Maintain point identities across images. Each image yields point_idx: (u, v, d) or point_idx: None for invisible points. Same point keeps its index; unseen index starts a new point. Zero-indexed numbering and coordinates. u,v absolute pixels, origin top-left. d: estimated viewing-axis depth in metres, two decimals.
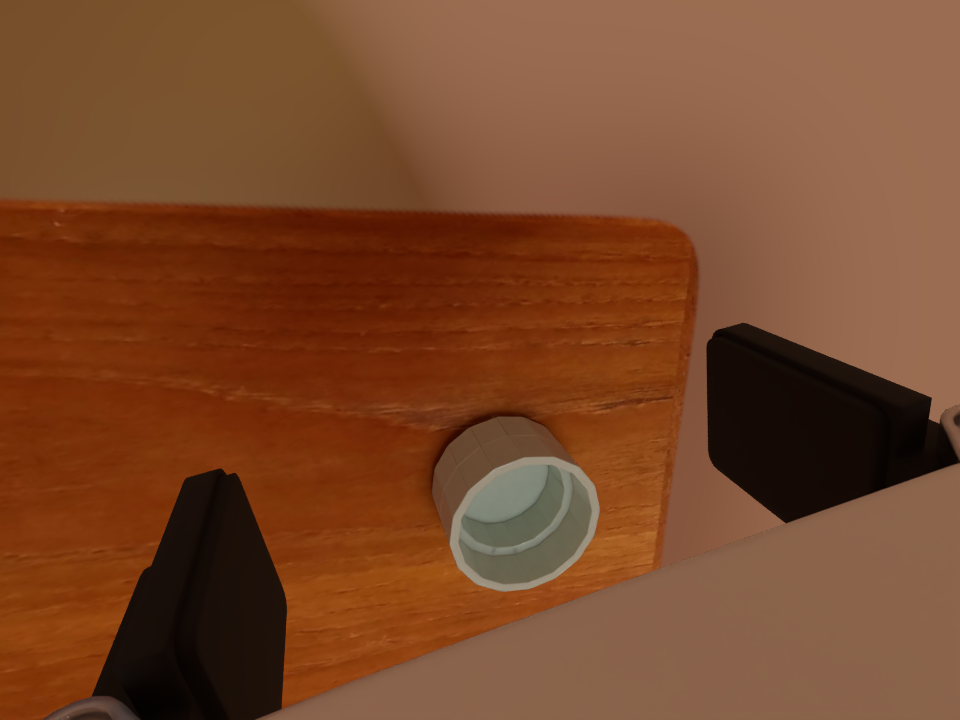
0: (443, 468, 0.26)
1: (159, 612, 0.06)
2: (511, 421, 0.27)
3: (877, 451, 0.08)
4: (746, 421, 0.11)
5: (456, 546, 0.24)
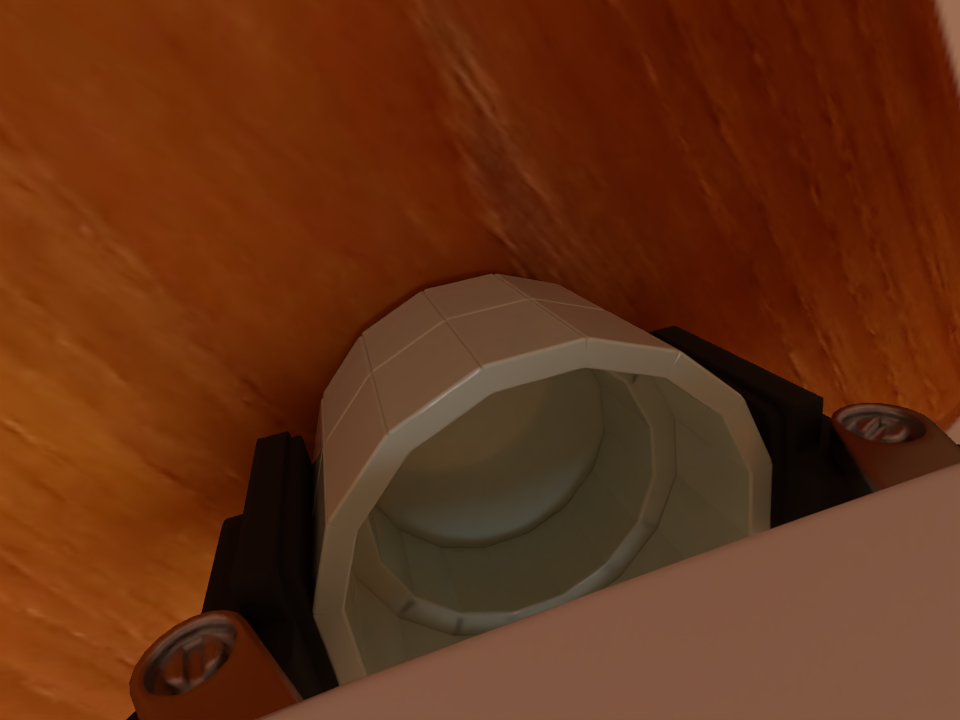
0: (462, 293, 0.10)
1: (261, 543, 0.07)
2: None
3: (775, 448, 0.08)
4: None
5: (395, 457, 0.07)
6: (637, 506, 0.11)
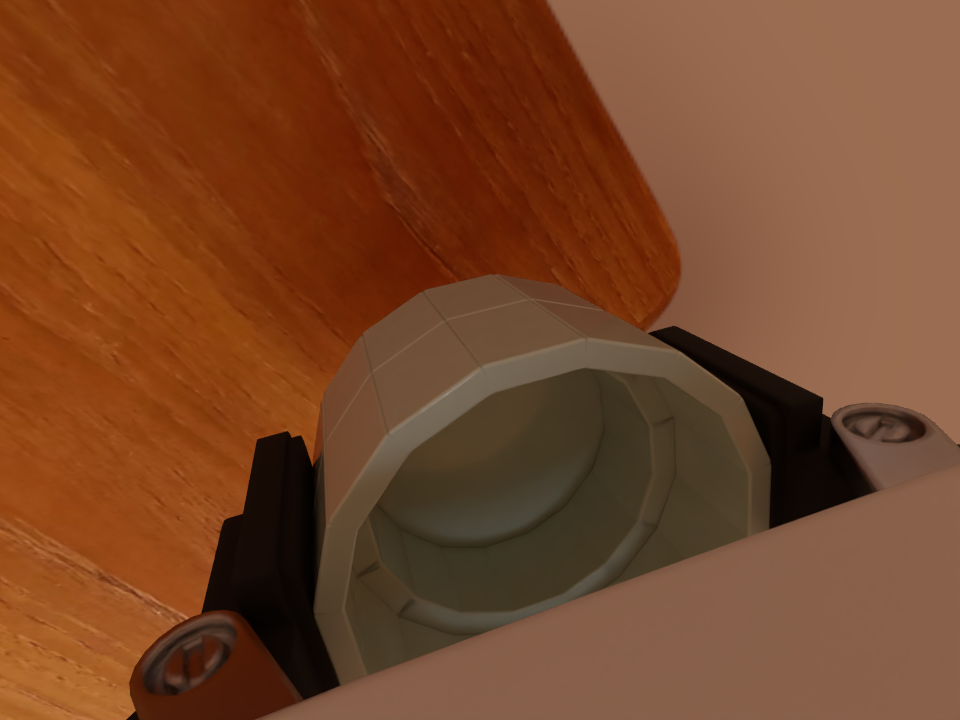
0: (462, 294, 0.10)
1: (261, 543, 0.07)
2: None
3: (775, 448, 0.08)
4: None
5: (395, 458, 0.07)
6: (637, 506, 0.11)
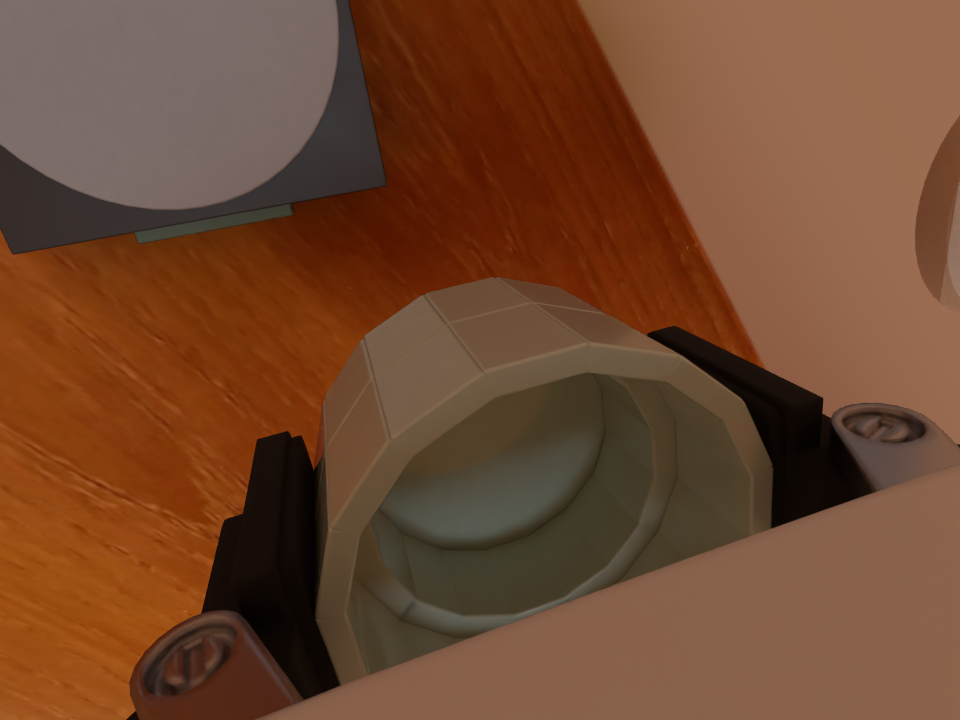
0: (463, 297, 0.10)
1: (261, 543, 0.07)
2: None
3: (775, 448, 0.08)
4: None
5: (397, 462, 0.07)
6: (638, 509, 0.11)
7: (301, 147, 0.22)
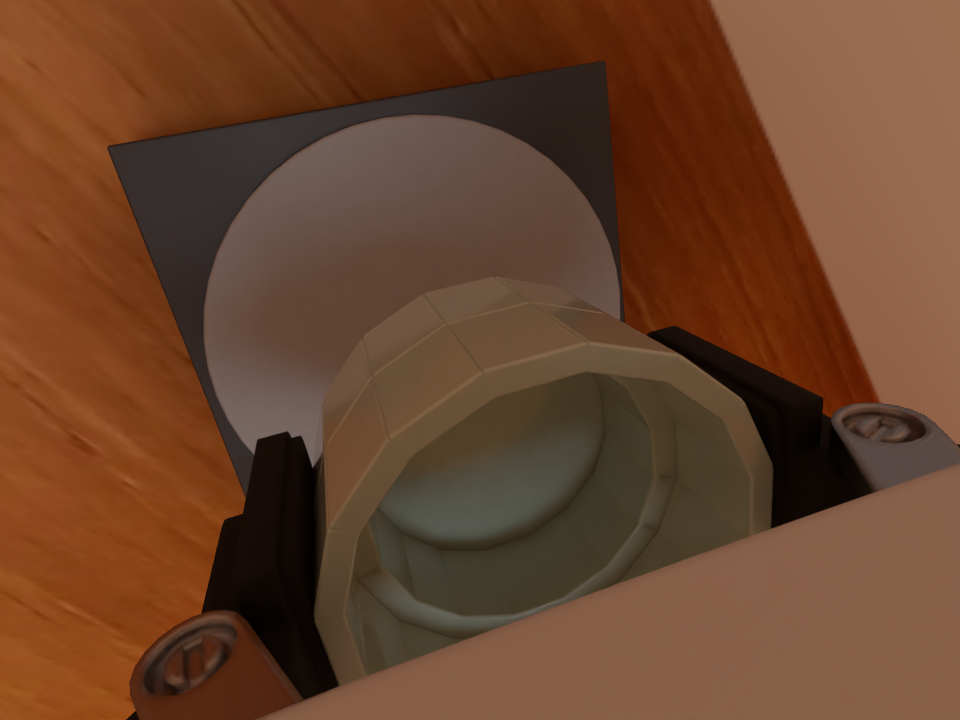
0: (463, 297, 0.10)
1: (261, 543, 0.07)
2: None
3: (775, 448, 0.08)
4: None
5: (396, 462, 0.07)
6: (638, 509, 0.11)
7: None
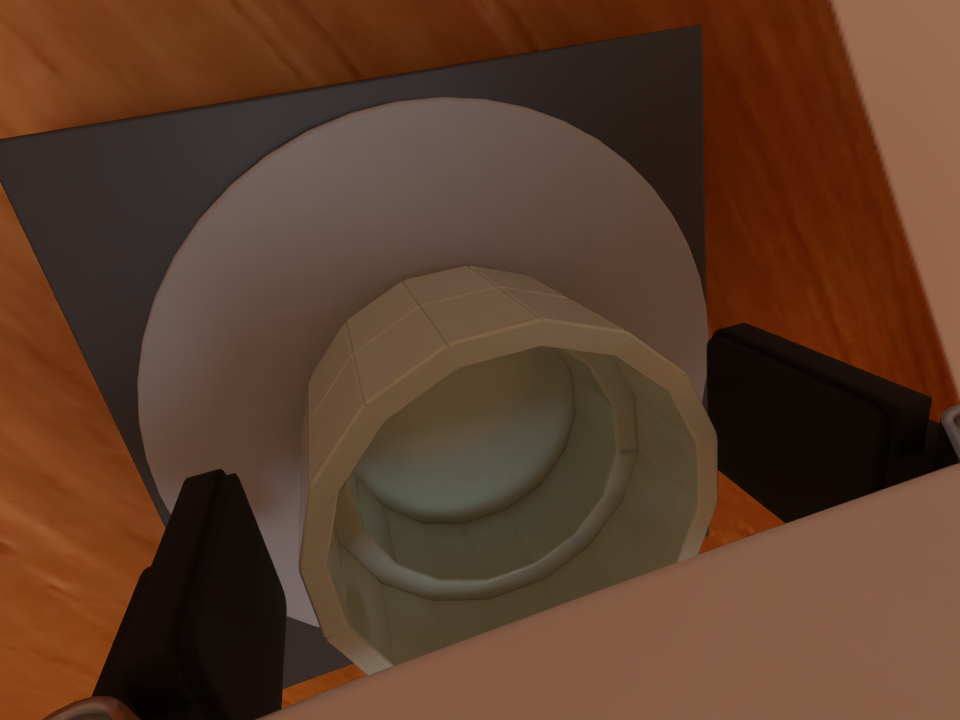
0: (437, 283, 0.10)
1: (159, 612, 0.06)
2: None
3: (877, 451, 0.08)
4: (746, 421, 0.11)
5: (371, 425, 0.08)
6: (603, 481, 0.12)
7: None
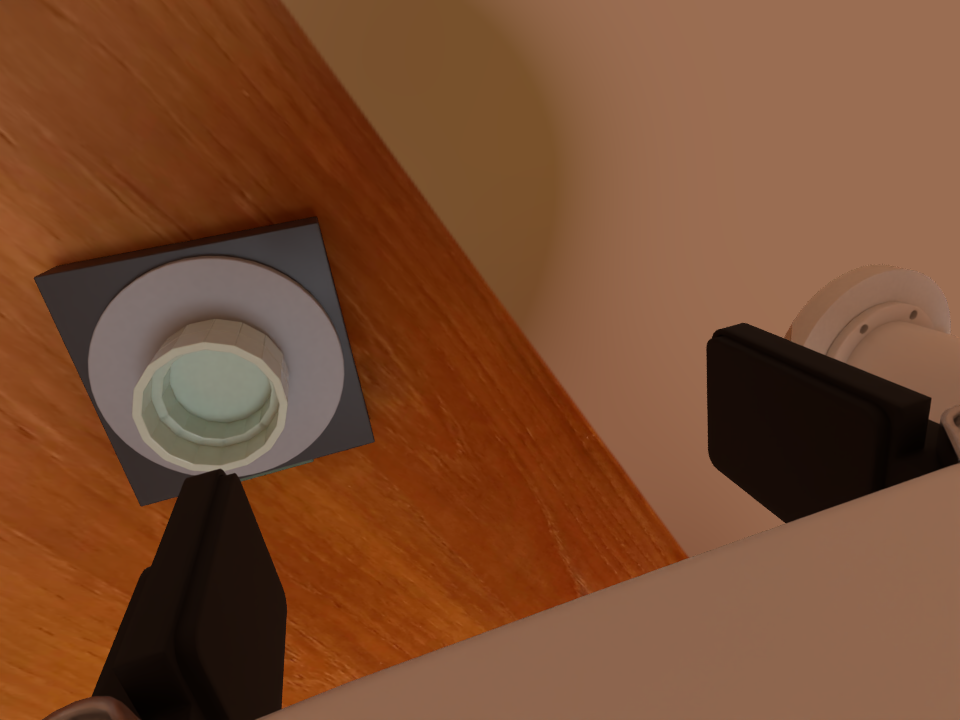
0: (195, 326, 0.29)
1: (159, 612, 0.06)
2: (272, 345, 0.31)
3: (877, 451, 0.08)
4: (746, 421, 0.11)
5: (150, 372, 0.26)
6: (270, 402, 0.31)
7: (320, 433, 0.34)
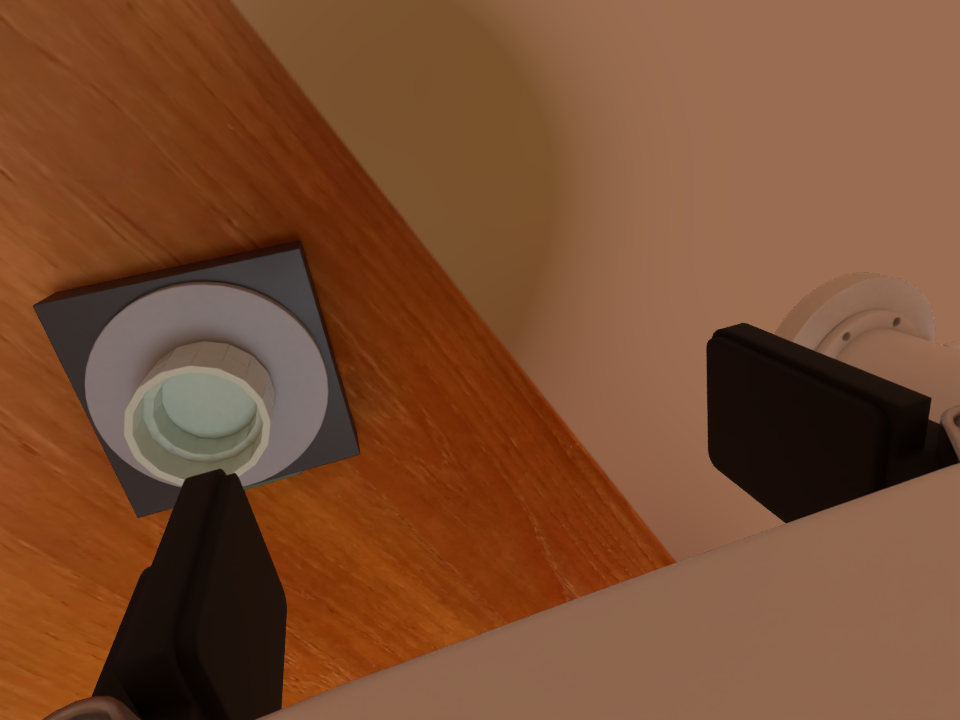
0: (184, 349, 0.31)
1: (159, 612, 0.06)
2: (258, 365, 0.32)
3: (877, 451, 0.08)
4: (746, 421, 0.11)
5: (140, 394, 0.28)
6: (256, 419, 0.32)
7: (307, 447, 0.36)
